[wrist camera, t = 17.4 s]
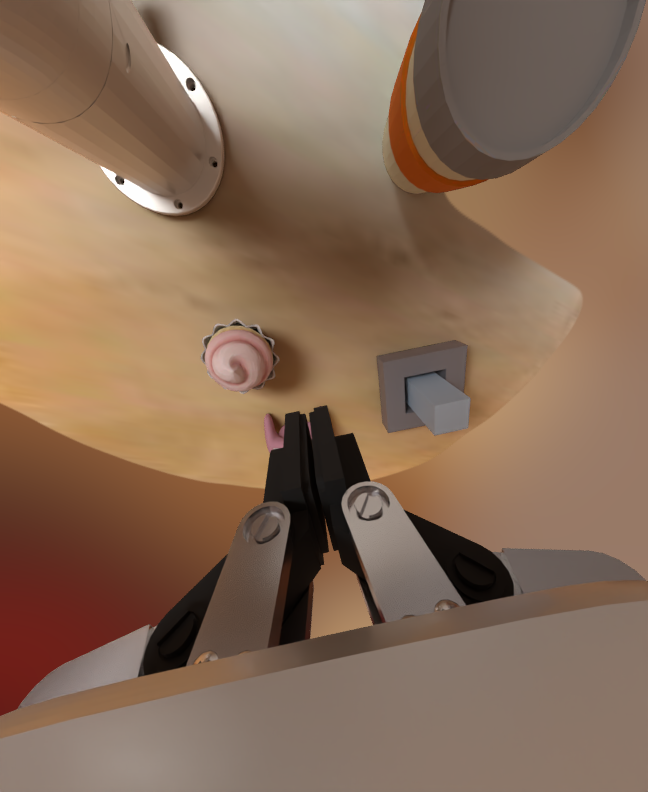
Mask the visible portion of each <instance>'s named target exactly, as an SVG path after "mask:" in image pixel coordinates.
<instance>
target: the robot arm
mask: <svg viewBox="0 0 648 792" xmlns="http://www.w3.org/2000/svg"><path fill="white" fill-rule="evenodd" d="M193 87H195V88H196V89H195V90H194V91H192V88H193ZM0 112H2V113H4V114H6V115H8V116H9V117H11V118H13V119H15V120H17V121H19V122H20V123H22V124H24V125H26V126H28V127H30V128H31V129H33V130H35V131H37V132H39V133H41V134H43V135H44V136H46V137H48V138H50V139H52V140H54V141H55V142H57V143H59V144H61V145H63V146H65V147H66V148H68V149H70V150H72V151H74V152H76V153H78V154H79V155H81V156H83V157H85V158H87V159H89V160H90V161H92V162H94V163H96V164H98V165H99V166H100V167H101V169H102V170H103V172H104V173H105V175H106V176H107V177H108V179H109V180H110V181H111V182H112V183H113V184H114V185H115V186H116V187H117V188H118V189H119V190H120V191H121V192H122V193H123V194H125V195H126V196H127V197H128V198H129V199H131V200H132V201H134V202H136V203H137V204H139V205H141V206H142V207H144V208H146V209H149V210H151V211H153V212H157V213H160V214H164V215H171V216H180V215H187V214H190V213H193V212H195V211H198V210H199V209H200V208H202V207H203V206H205V205H206V204H207V203H208V202H209V201H210V199H211V198H212V197H213V196H214V194H215V192H216V190H217V188H218V187H219V184H220V181H221V178H222V174H223V168H224V160H225V156H224V141H223V136H222V130H221V126H220V123H219V120H218V117H217V114H216V111H215V109H214V107H213V105H212V103H211V100H210V98H209V96H208V95H207V93H206V91H205V89H204V88H203V86H202V84H201V83H200V81H199V80H198V78H197V77H196V76H195V75H194V73H193V72H192V71H191V69H190V68H189V67H188V66H187V65H186V64H185V63H184V62H183V61H182V60H181V59H180V58H179V57H178V56H177V55H175V54H174V53H173V52H171V51H170V50H168V49H167V48H165V47H164V46H162V45H161V44H159V43H156V41H155V39H154V38H153V36H152V34H151V33H150V31H149V29H148V28H147V26H146V24H145V23H144V21H143V19H142V18H141V16H140V14H139V13H138V11H137V10H136V8H135V6H134V5H133V3H132V1H131V0H0ZM214 163H217V167H216V168H215V167H213V164H214ZM123 180H124V181H125V183H124V184H123ZM181 203H182V204H183V207H182V209H181V208H180V206H179V205H180V204H181ZM309 416H310V426H311V435H310V431H309V427H308V422H307V418H306V415H305V414H300V412H299V411H297V412H293V413H288V414H286V415H285V428H284V443H283V448H278V449H274V450H271V452H270V458H269V465H268V472H267V479H266V487H265V494H264V501H263V503H262V504H260V505H258V506H256V507H254V508H253V509H251V510H250V511H249V512H248V513H247V514H246V515H245V516H244V517H243V518H242V520H241V522H240V524H239V526H238V529H237V531H236V534H235V537H234V539H233V542H232V545H231V547H230V550H229V553H228V554H227V555H226V556H225V557H224V558H223V559H222V560H221V561H220V562H219V563H218V564H217V565H216V566H215V567H214V568H213V569H212V570H211V571H210V572H209V573H208V574H207V575H206V576H205V577H204V578H203V579H202V580H201V581H200V582H199V583H198V584H197V585H196V586H195V587H194V588H193V589H191V590H190V591H189V592H188V593H187V595H185V596H184V598H182V599H181V601H179V602H178V603H177V604H176V605H175V606H174V607H173V608H172V609H171V610H170V611H169V612H168V613H167V614H166V615H165V617H164V618H163V619H162V620H161V621H160V623H159V624H158V625H157V626H156V627H152V626H151V625H150V624H149V625H147V626H145V627H143V628H141V629H139V630H136V631H134V632H132V633H130V634H128V635H126V636H124V637H121V638H119V639H117V640H115V641H113V642H111V643H109V644H106V645H104V646H102V647H100V648H98V649H96V650H94V651H91V652H89V653H87V654H85V655H83V656H81V657H79V658H77V659H74V660H72V661H70V662H68V663H66V664H64V665H62V666H60V667H59V668H57V669H56V670H54V671H52V672H51V673H50V674H48V675H47V676H46V677H45V678H44V679H43V680H42V681H41V682H39V684H38V685H36V686H35V687H34V688H33V690H32V691H31V692H30V693H29V694H28V696H27V697H26V698H25V699H24V701H23V702H22V703H21V704H20V706H19V708H18V709H17V710H15V711H13V712H10V713H8V714H5V715H3V716H0V792H648V581H646V580H645V579H644V578H643V577H642V576H641V575H640V574H639V573H638V572H637V571H635V570H634V569H632V568H631V567H630V566H628V565H627V564H625V563H623V562H622V561H620V560H618V559H616V558H614V557H611V556H609V555H606V554H604V553H599V552H594V551H582V550H545V549H510V548H503V549H502V552H500V553H499V552H491V551H489V550H488V549H486V548H484V547H483V546H481V545H479V544H477V543H475V542H472V541H470V540H468V539H466V538H464V537H462V536H459V535H457V534H455V533H453V532H451V531H449V530H446V529H444V528H442V527H440V526H438V525H436V524H434V523H431V522H429V521H427V520H425V519H423V518H421V517H418V516H416V515H414V514H412V513H410V512H408V511H405V510H403V509H402V507H401V505H400V504H399V502H398V501H397V499H396V498H395V496H394V495H393V493H392V492H391V491H390V490H389V489H388V488H387V487H385V486H384V485H382V484H379V483H376V482H371V481H370V478H369V475H368V473H367V470H366V467H365V464H364V462H363V459H362V456H361V453H360V451H359V448H358V445H357V442H356V439H355V437H354V434H353V433H351V434H346V435H341V436H336V437H334V433H333V428H332V424H331V420H330V416H329V412H328V408H327V405H326V406H322V407H317V408H314V412H310V413H309ZM311 436H312V439H311ZM325 519H326V523H327V527H328V531H329V535H330V538H331V542H332V546H333V549H334V551H336V550H339V554H340V558H341V562H342V564H343V565H344V566H345V567H347V568H348V569H350V570H351V571H353V572H354V573H355V574H356V576H357V580H358V583H359V586H360V589H361V592H362V594H363V598H364V600H365V603H366V606H367V609H368V612H369V615H370V618H371V621H372V623H373V626H368V627H363V628H359V629H354V630H350V631H345V632H340V633H336V634H331V635H327V636H322V637H318V638H313V639H310V635H311V621H312V607H313V592H314V584H313V579H314V578H315V576H316V574H317V573H318V572H319V570H320V569H321V565H324V559H323V553H327V552H329V549H328V540H327V532H326V523H325Z"/></svg>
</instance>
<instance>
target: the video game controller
mask: <svg viewBox="0 0 648 792" xmlns="http://www.w3.org/2000/svg"><path fill="white" fill-rule="evenodd" d="M320 407H322V406H320ZM264 427H265V438H266V443H267V447H268V450H269V452H271V450H274V449H278V448H283V443H284V428H285V425H284V426H283V427H282V428H281V430H280V432H279V433H277V432H276V430H275V427H274V423H273V420H272V417H271V415H270V414H266V416H265V419H264ZM308 427H309V431H310V435H311V426H310V422H308ZM311 439H312V436H311Z"/></svg>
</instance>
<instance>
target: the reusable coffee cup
mask: <svg viewBox="0 0 648 792" xmlns="http://www.w3.org/2000/svg"><path fill="white" fill-rule="evenodd" d="M645 2H646V0H425V3H424V6H423V9H422V12H421V14H420V17H419V19H418V21H417V23H416V26H415V28H414V30H413V32H412V35H411V37H410V40H409V43H408V46H407V49H406V52H405V55H404V58H403V61H402V64H401V67H400V70H399V73H398V76H397V79H396V82H395V86H394V89H393V93H392V96H391V102H390V109H389V116H388V118H387V122H386V125H385V129H384V134H383V141H382V143H383V158H384V163H385V166H386V170H387V172H388V174H389V176H390V178H391V179H392V181H393V182H394V183H395V184H396V185H397V186H398V187H399V188H401V189H402V190H404V191H406V192H409V193H414V194H420V193H426V192H433V193H441V192H448V191H452V190H456V189H461V188H464V187H468V186H473V185H476V184H478V183H481V182H484V181H486V180H488V179H493V178H498V177H501V176H504V175H507V174H509V173H512V172H514V171H516V170H517V169H519V168H521V167H522V166H524V165H526V164H527V163H529V162H530V161H532V160H534V159H535V158H537V157H538V156H540V155H542V154H543V153H545V152H546V151H548V150H550V149H551V148H553V147H554V146H556V145H558V144H559V143H561V142H562V141H563V140H565V139H566V138H567V137H568V136H569V135H570V134H571V133H573V132H574V131H575V130H576V129H577V128H578V127H579V126H580V125H581V124H582V123H583V122H584V121H585V120H586V119H587V117H588V116H589V115H590V114H591V113H592V112H593V111H594V109H595V108H596V107H597V106H598V104H599V103H600V101H601V100H602V98H603V97H604V95H605V94H606V92H607V91H608V89H609V88H610V87H611V85H612V83H613V81H614V80H615V78H616V76H617V74H618V72H619V70H620V68H621V66H622V65H623V62H624V61H625V59H626V56H627V54H628V51H629V49H630V47H631V44H632V42H633V39H634V37H635V34H636V32H637V29H638V26H639V23H640V20H641V16H642V13H643V9H644V6H645Z"/></svg>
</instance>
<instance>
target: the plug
mask: <svg viewBox="0 0 648 792" xmlns="http://www.w3.org/2000/svg"><path fill="white" fill-rule="evenodd" d="M404 385H405V402H406V403H407V404H408V405H409V406H410V407H411V409H412V410H413V411H414V412H415V413H416V414H417V416H418V417H419V418H420V419H421V420H422V422H423V423H424V424H425V425H426V426H427V427H428V429H429V430H430V431H431V432H432V433H433V434H434V436H435V435H440V434H444V433H449V432H453V431H458V430H462V429H466V428H468V424H469V411H470V397H468V396H467V395H465V394H464V393H463V392H461V391H460V390H459V389H457V388H456V387H454V386H453V385H452V384H450V383H449V382H447V381H446V380H445V379H443V378H442V377H441V376H439V375H438V374H436V373H435V372H434V371H433V372H428V373H423V374H419V375H414V376H409V377H404Z"/></svg>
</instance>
